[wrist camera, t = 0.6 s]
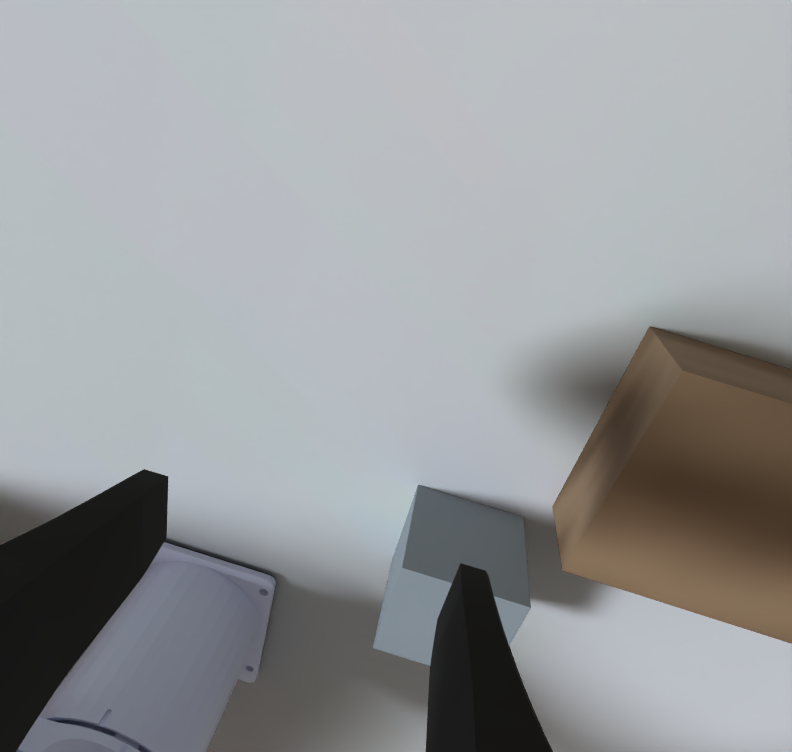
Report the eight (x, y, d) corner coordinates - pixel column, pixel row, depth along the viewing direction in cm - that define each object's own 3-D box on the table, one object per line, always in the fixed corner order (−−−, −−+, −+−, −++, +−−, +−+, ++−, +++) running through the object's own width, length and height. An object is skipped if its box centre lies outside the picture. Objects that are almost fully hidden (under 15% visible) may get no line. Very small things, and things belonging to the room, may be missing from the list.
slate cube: (487, 587, 26) (487, 684, 22) (392, 558, 26) (372, 647, 22) (523, 515, 24) (531, 607, 19) (418, 483, 24) (401, 567, 19)
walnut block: (745, 563, 23) (791, 643, 20) (551, 501, 23) (562, 570, 20) (885, 396, 19) (976, 460, 15) (647, 323, 19) (682, 370, 16)
